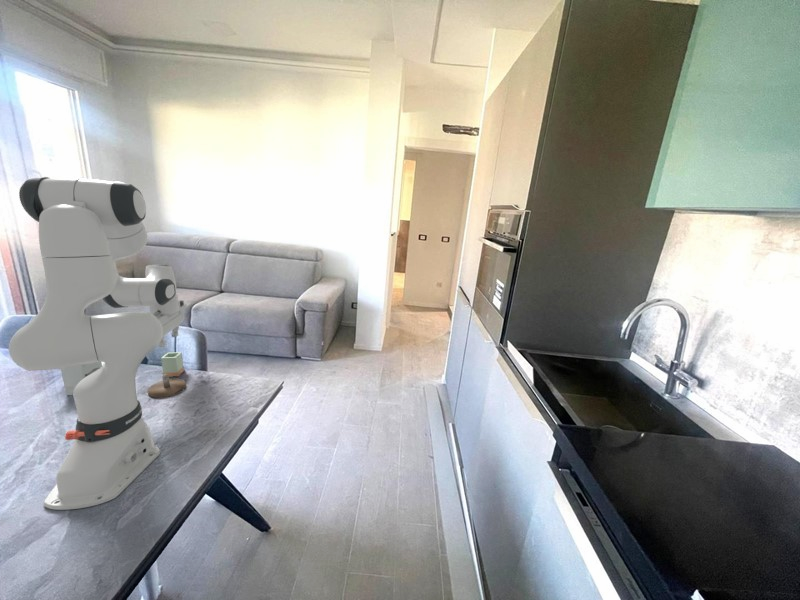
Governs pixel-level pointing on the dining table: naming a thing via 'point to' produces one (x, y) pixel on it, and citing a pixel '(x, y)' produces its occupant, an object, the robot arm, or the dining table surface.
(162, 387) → the pin base
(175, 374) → the sleeve
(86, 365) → the supplement box
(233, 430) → the dining table surface
